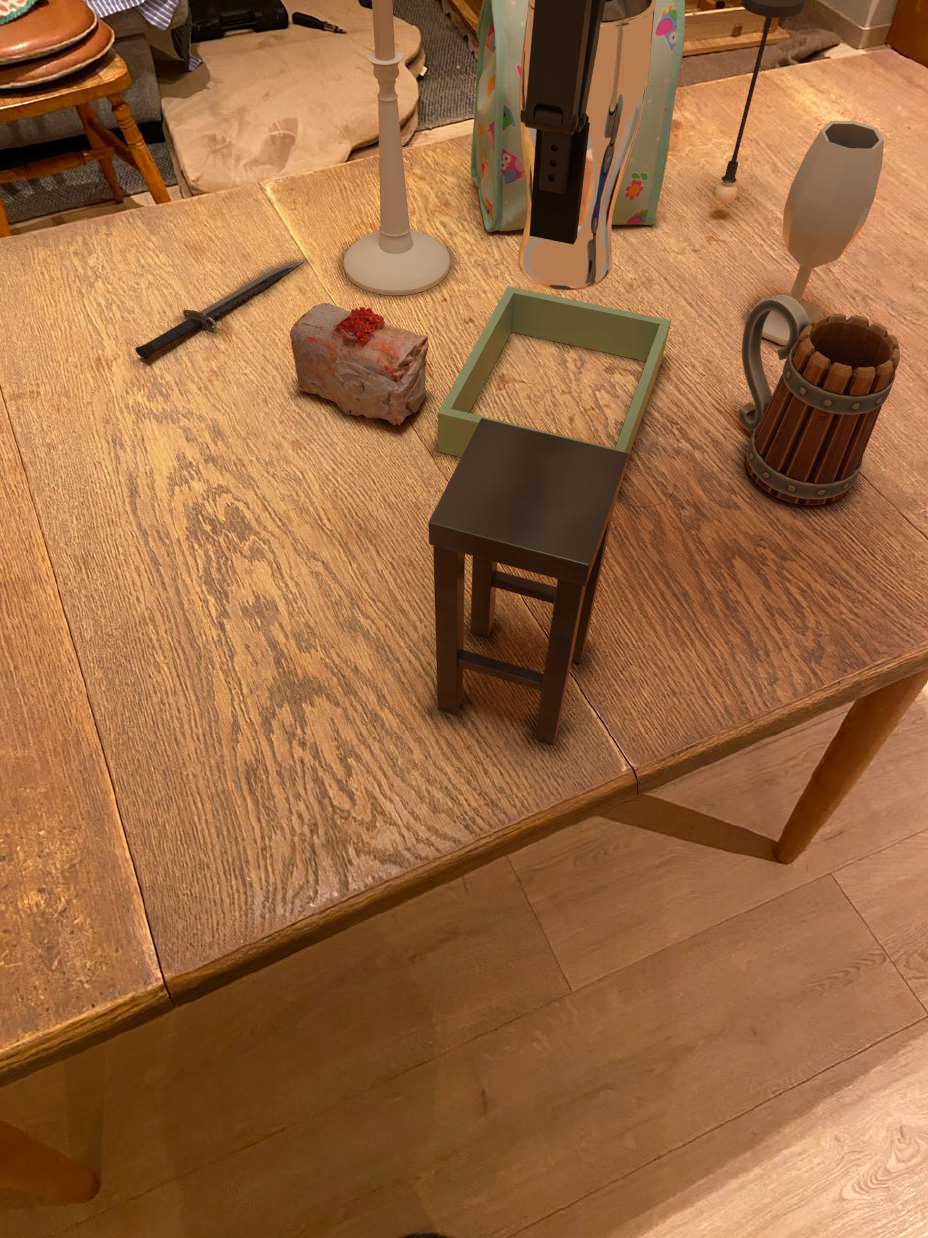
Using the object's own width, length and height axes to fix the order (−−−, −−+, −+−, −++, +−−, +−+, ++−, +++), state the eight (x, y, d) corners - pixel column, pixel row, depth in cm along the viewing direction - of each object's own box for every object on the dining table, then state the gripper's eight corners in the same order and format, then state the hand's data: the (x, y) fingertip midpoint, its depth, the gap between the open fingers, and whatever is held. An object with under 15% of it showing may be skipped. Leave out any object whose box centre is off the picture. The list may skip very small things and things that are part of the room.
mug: (875, 480, 87) (943, 351, 75) (800, 525, 84) (858, 397, 71) (759, 393, 95) (803, 263, 83) (685, 431, 91) (720, 301, 79)
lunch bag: (631, 167, 123) (669, -72, 101) (663, 233, 113) (713, -16, 91) (465, 177, 121) (468, -64, 99) (483, 245, 111) (490, -6, 89)
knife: (283, 247, 109) (313, 257, 107) (286, 262, 110) (316, 272, 108) (123, 338, 96) (154, 352, 94) (129, 354, 97) (159, 367, 95)
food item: (440, 395, 94) (439, 313, 86) (403, 441, 90) (398, 360, 82) (329, 358, 98) (318, 276, 90) (288, 401, 93) (273, 319, 85)
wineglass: (821, 355, 99) (897, 164, 82) (742, 339, 100) (800, 148, 83) (829, 310, 104) (902, 121, 87) (753, 295, 105) (810, 107, 88)
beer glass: (511, 233, 60) (524, -31, 48) (615, 236, 60) (654, -28, 48) (509, 293, 56) (524, 22, 44) (621, 297, 56) (666, 25, 44)
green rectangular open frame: (662, 359, 98) (671, 319, 94) (615, 496, 86) (623, 457, 82) (505, 325, 101) (507, 285, 97) (438, 451, 89) (437, 412, 85)
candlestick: (455, 238, 112) (455, -49, 88) (443, 298, 104) (440, 2, 80) (353, 232, 112) (326, -55, 88) (335, 291, 105) (299, -5, 81)
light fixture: (715, 237, 113) (771, 10, 92) (682, 212, 116) (730, -12, 96) (756, 223, 115) (820, -1, 94) (723, 199, 118) (778, -23, 98)
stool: (587, 648, 75) (629, 452, 57) (555, 748, 69) (589, 565, 52) (474, 616, 77) (481, 417, 59) (434, 711, 71) (427, 522, 54)
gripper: (601, -379, 43) (558, 122, 61) (456, -308, 32) (457, 279, 50) (759, -371, 41) (666, 141, 60) (665, -293, 30) (587, 307, 48)
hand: (571, 203), depth 55 cm, fingers closed on beer glass, 7 cm apart
